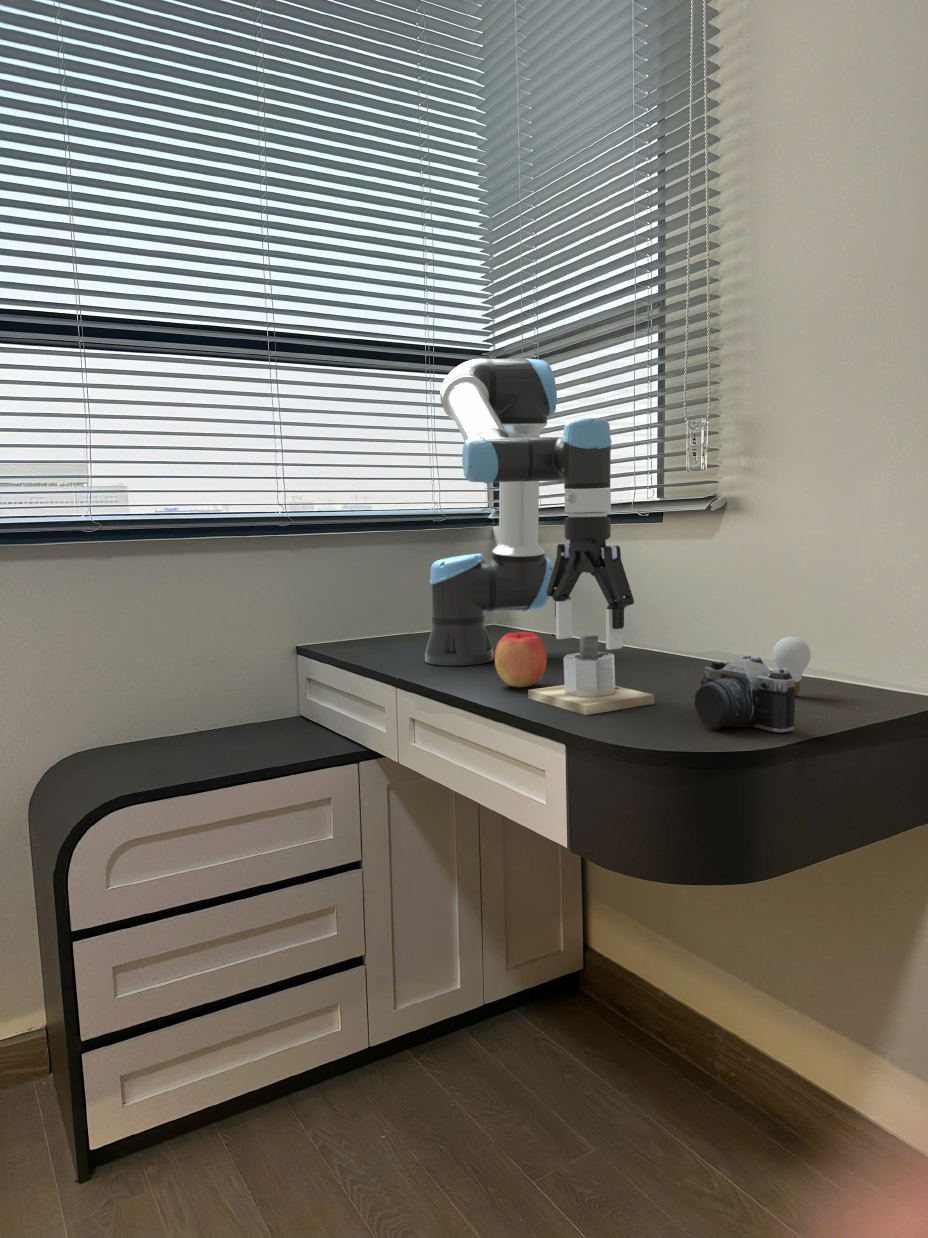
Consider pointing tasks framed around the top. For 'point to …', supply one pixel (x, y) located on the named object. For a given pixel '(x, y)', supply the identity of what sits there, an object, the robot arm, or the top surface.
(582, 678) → the hub
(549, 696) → the shaft stand
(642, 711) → the top surface
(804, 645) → the light bulb
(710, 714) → the camera
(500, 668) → the apple
